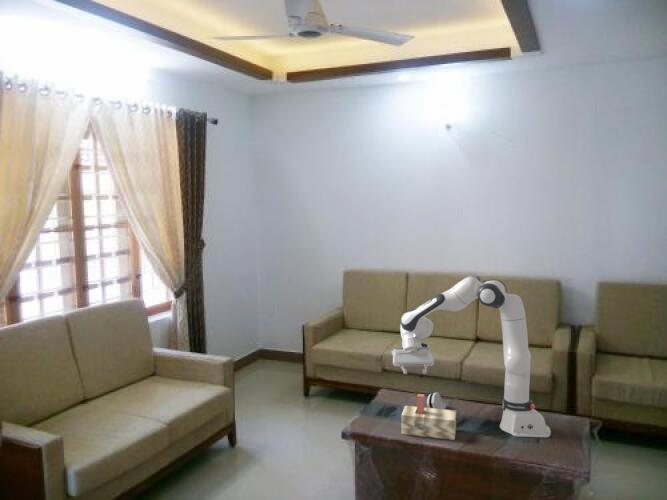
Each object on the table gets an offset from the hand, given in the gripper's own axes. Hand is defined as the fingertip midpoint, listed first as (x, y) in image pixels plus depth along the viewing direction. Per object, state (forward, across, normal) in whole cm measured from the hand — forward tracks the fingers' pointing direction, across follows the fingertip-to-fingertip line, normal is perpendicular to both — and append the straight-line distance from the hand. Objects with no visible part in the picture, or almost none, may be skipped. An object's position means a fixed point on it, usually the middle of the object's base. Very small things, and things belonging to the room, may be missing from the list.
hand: (415, 373), depth 271 cm
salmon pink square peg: (+23, 0, +6) cm, 24 cm away
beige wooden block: (+26, +4, +7) cm, 27 cm away
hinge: (+10, +13, +24) cm, 29 cm away
